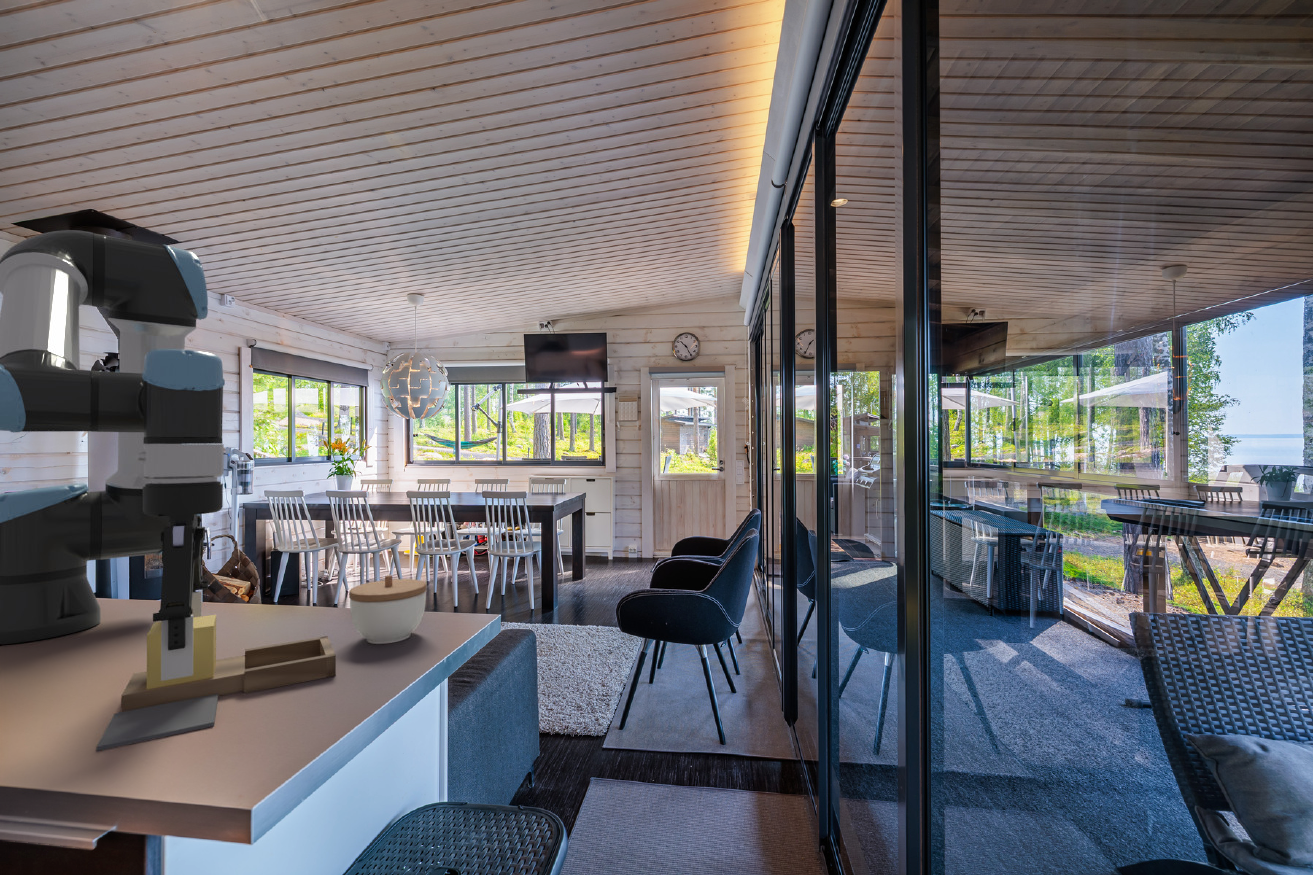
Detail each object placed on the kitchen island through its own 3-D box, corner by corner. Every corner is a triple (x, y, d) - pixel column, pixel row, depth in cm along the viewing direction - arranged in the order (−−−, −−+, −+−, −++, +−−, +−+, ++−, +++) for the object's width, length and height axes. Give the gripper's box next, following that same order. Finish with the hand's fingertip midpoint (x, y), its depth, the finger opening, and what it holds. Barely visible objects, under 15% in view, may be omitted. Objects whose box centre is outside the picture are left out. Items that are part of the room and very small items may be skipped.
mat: (114, 717, 65) (114, 713, 65) (218, 697, 70) (218, 693, 70) (96, 751, 57) (96, 746, 57) (214, 725, 62) (214, 721, 62)
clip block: (153, 673, 72) (154, 622, 72) (216, 662, 75) (216, 614, 75) (146, 689, 67) (146, 634, 67) (213, 677, 70) (213, 625, 70)
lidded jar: (441, 631, 94) (441, 571, 94) (385, 653, 84) (385, 585, 85) (391, 624, 98) (391, 566, 99) (332, 644, 89) (332, 580, 89)
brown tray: (134, 687, 73) (134, 666, 73) (327, 653, 84) (327, 635, 84) (119, 717, 64) (119, 693, 64) (335, 675, 76) (335, 655, 76)
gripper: (157, 477, 80) (156, 637, 80) (124, 487, 60) (122, 703, 59) (226, 475, 84) (225, 627, 84) (218, 484, 64) (217, 686, 63)
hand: (183, 659), depth 72 cm, fingers open, 13 cm apart
